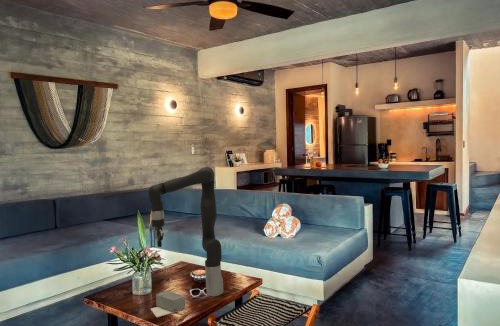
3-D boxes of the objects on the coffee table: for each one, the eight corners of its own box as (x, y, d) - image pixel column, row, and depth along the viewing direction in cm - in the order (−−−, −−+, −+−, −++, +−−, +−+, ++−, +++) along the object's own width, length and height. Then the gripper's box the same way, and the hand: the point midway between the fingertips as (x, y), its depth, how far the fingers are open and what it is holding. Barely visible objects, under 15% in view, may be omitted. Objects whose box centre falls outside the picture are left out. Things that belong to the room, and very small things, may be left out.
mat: (175, 302, 216) (175, 302, 216) (182, 310, 206) (182, 309, 206) (150, 309, 209) (150, 308, 209) (156, 317, 199) (156, 316, 199)
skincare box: (166, 290, 218) (185, 294, 208) (167, 302, 218) (186, 307, 208) (154, 294, 212) (173, 299, 202) (155, 307, 211) (174, 312, 202)
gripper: (167, 218, 224) (169, 248, 224) (160, 215, 235) (162, 243, 236) (154, 220, 220) (156, 250, 221) (148, 217, 231) (150, 245, 232)
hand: (159, 246), depth 228 cm, fingers closed
